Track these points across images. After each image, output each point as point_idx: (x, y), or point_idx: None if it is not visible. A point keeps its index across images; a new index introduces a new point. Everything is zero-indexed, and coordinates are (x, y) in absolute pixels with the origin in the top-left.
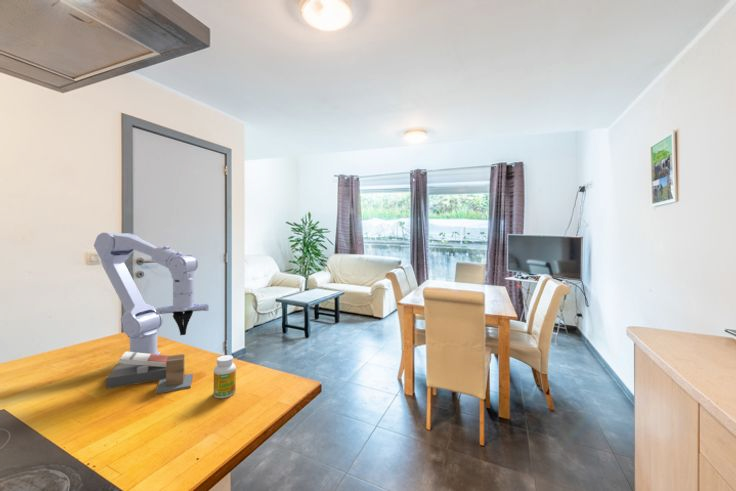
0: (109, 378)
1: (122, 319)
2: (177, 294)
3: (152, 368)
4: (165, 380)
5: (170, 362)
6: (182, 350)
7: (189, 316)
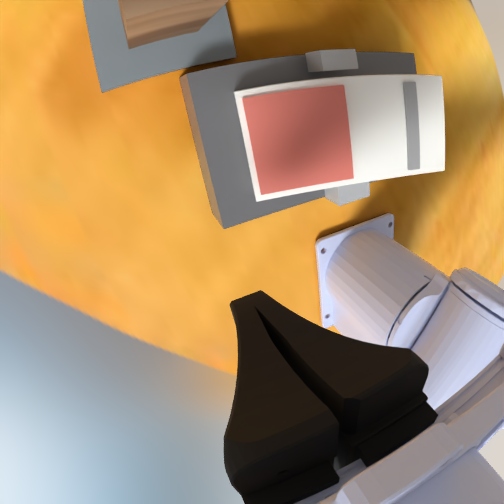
0: (405, 53)
1: None
2: None
3: None
4: (208, 31)
5: None
6: None
7: (242, 432)
